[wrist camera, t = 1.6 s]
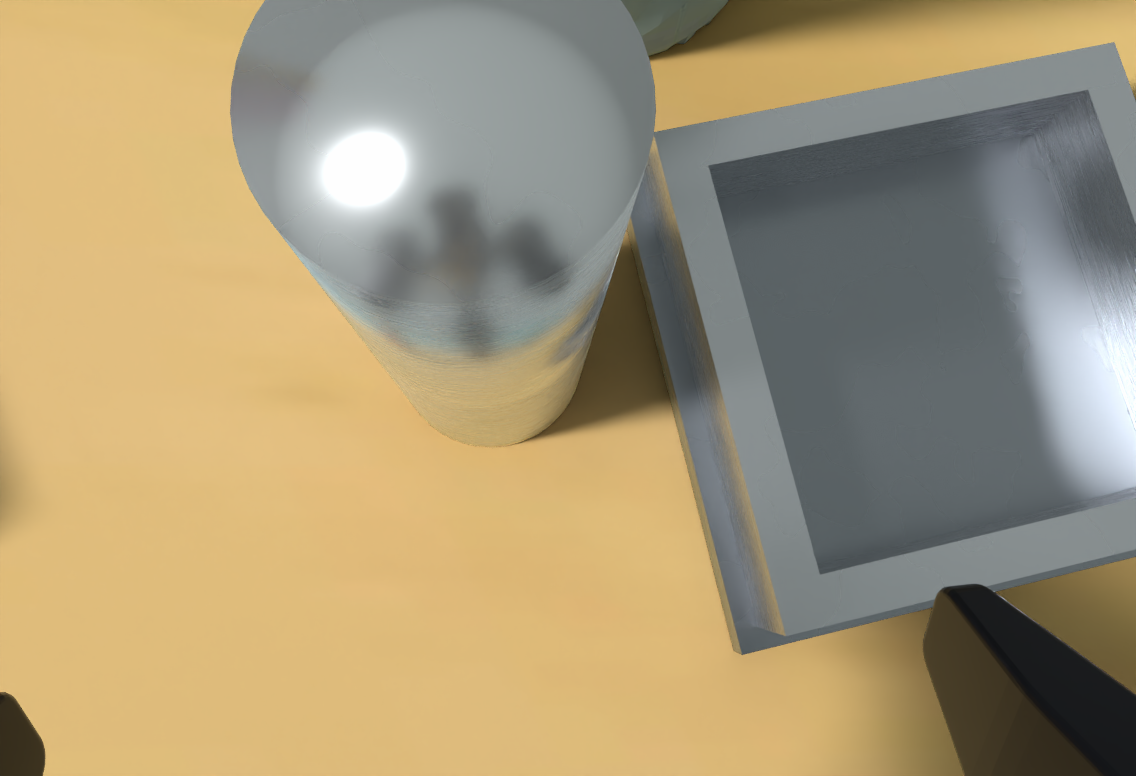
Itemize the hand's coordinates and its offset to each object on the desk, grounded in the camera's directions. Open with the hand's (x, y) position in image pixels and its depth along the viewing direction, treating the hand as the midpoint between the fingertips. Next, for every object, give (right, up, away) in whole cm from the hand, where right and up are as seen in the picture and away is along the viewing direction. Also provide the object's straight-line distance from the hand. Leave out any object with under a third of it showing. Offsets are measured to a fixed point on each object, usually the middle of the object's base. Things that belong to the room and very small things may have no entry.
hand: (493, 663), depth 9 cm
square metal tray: (+9, +4, +13) cm, 17 cm away
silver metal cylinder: (-1, +3, +13) cm, 13 cm away
